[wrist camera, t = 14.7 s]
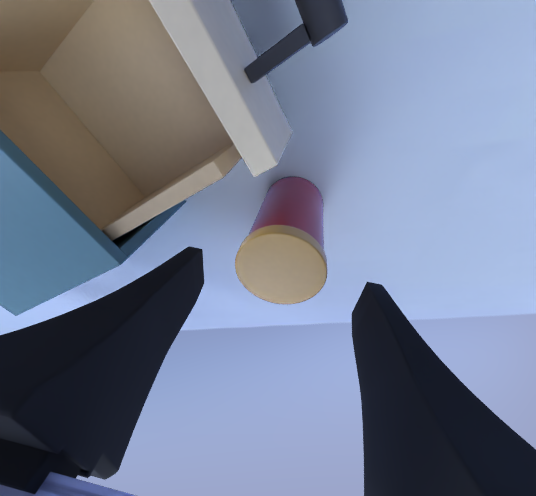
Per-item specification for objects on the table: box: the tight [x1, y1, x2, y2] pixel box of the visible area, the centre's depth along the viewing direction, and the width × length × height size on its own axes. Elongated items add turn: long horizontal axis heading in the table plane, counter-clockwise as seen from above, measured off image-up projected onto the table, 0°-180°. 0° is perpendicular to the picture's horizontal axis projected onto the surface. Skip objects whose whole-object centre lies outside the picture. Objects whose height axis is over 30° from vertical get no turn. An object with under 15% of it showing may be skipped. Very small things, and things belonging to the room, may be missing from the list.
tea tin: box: [235, 177, 327, 304], centre depth 16 cm, size 5×5×8 cm
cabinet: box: [0, 130, 186, 316], centre depth 17 cm, size 13×13×8 cm
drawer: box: [0, 0, 348, 241], centre depth 12 cm, size 16×12×7 cm
